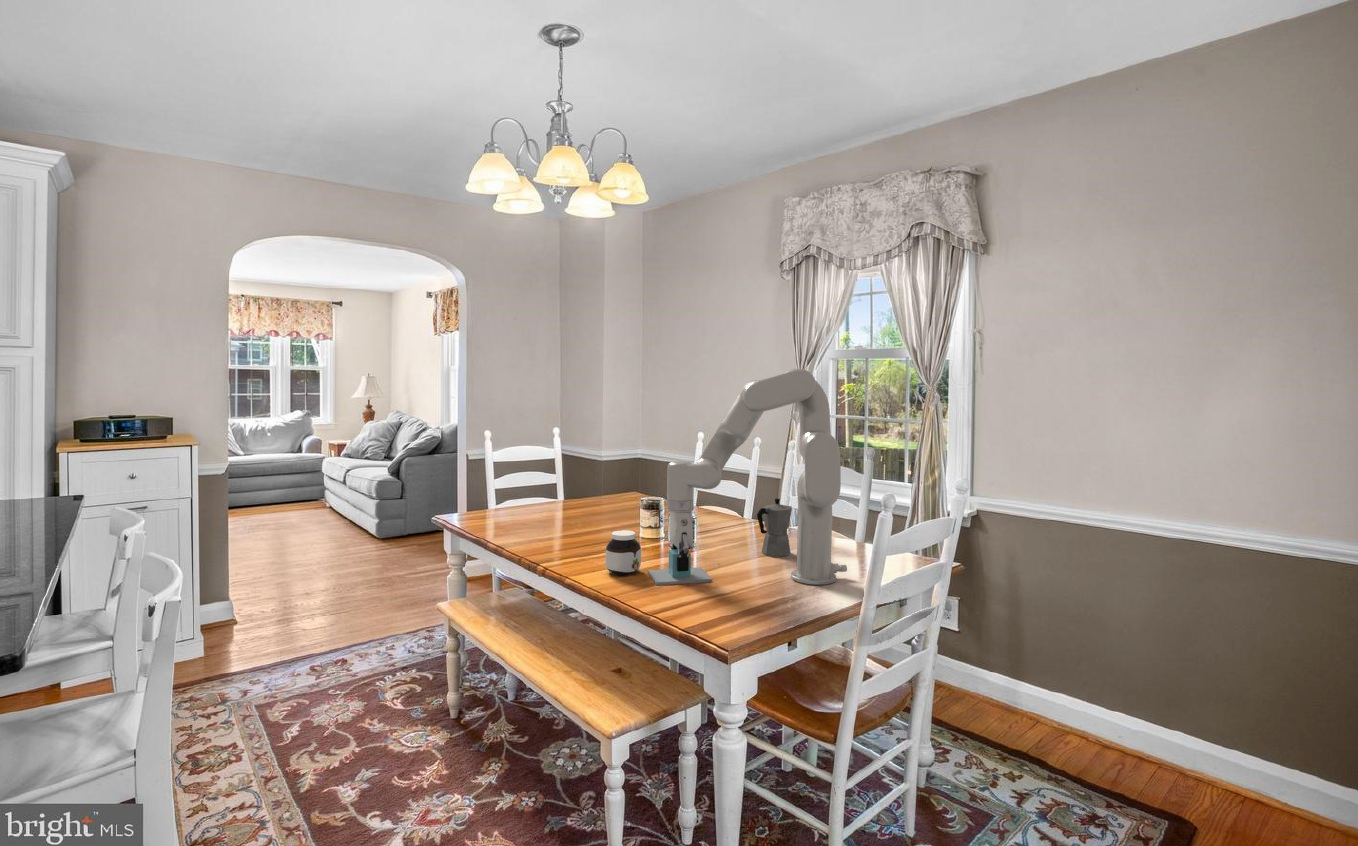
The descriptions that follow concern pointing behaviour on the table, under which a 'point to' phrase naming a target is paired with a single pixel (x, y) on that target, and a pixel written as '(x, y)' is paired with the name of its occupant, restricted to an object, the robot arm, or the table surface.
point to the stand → (665, 578)
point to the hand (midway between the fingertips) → (679, 566)
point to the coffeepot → (775, 529)
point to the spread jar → (623, 553)
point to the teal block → (673, 565)
